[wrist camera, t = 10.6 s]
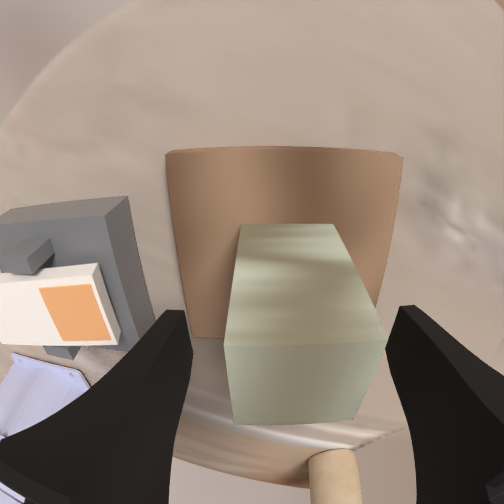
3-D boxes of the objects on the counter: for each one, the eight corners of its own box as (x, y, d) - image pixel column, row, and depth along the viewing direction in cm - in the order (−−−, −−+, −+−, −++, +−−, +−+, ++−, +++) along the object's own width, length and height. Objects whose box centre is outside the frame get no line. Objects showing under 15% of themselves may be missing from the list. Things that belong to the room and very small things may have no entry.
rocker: (7, 332, 13) (1, 344, 12) (-21, 275, 11) (-30, 286, 10) (120, 330, 14) (117, 345, 13) (98, 262, 12) (91, 276, 11)
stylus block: (244, 298, 15) (234, 424, 9) (241, 223, 13) (223, 345, 7) (324, 297, 15) (353, 419, 8) (333, 224, 13) (388, 339, 7)
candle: (298, 460, 28) (301, 535, 19) (335, 444, 25) (345, 527, 17) (327, 467, 29) (334, 534, 20) (363, 451, 27) (375, 523, 18)
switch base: (47, 312, 17) (17, 354, 14) (10, 209, 14) (-37, 242, 10) (156, 323, 17) (134, 380, 13) (127, 196, 13) (81, 237, 9)
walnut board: (195, 325, 17) (192, 337, 16) (171, 150, 12) (165, 154, 11) (363, 323, 17) (367, 334, 16) (394, 153, 12) (403, 157, 11)
